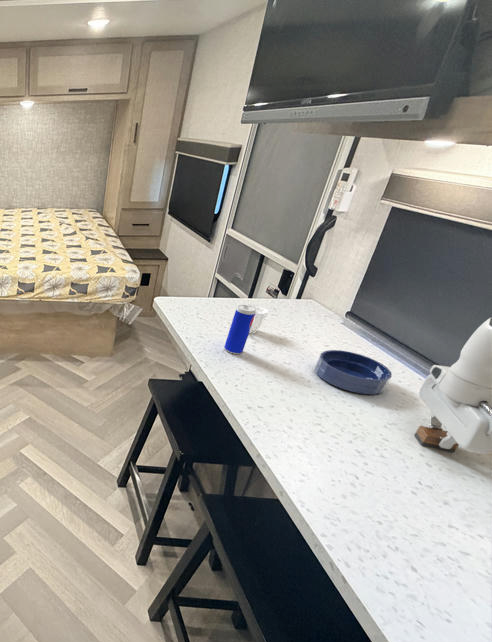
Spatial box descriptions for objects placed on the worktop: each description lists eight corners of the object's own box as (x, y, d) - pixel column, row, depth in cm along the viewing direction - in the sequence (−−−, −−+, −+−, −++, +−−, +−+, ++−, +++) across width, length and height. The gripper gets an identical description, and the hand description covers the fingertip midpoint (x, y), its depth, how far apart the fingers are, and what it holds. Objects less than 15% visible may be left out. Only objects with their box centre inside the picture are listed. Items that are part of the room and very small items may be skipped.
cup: (261, 329, 138) (269, 308, 134) (258, 340, 131) (266, 319, 127) (239, 323, 142) (245, 303, 138) (234, 334, 135) (241, 313, 131)
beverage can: (243, 356, 123) (258, 312, 116) (225, 353, 124) (238, 310, 117) (240, 347, 127) (254, 305, 120) (222, 345, 129) (235, 303, 122)
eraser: (445, 442, 90) (452, 432, 88) (453, 452, 87) (461, 442, 86) (413, 435, 92) (420, 425, 90) (420, 445, 89) (427, 435, 88)
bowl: (371, 371, 115) (379, 356, 112) (392, 401, 103) (402, 386, 100) (308, 360, 120) (314, 346, 118) (321, 387, 108) (328, 372, 106)
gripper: (527, 424, 73) (484, 477, 79) (465, 367, 89) (433, 415, 96) (481, 415, 75) (442, 467, 82) (428, 361, 91) (399, 408, 98)
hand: (437, 438), depth 89 cm, fingers closed on eraser, 3 cm apart
